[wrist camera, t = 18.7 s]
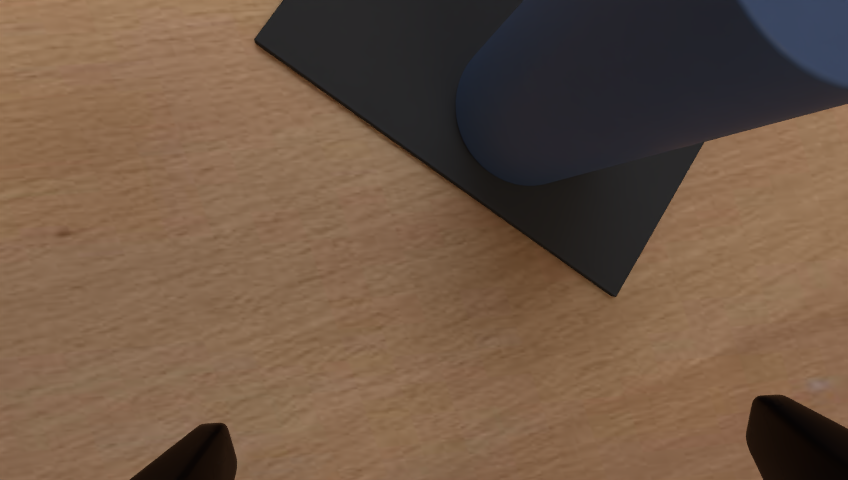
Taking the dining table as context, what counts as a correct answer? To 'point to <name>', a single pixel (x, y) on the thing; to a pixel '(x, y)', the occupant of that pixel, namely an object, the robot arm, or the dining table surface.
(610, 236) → the mat
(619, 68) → the blue cylinder
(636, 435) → the dining table surface
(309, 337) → the dining table surface
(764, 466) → the robot arm
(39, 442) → the dining table surface
